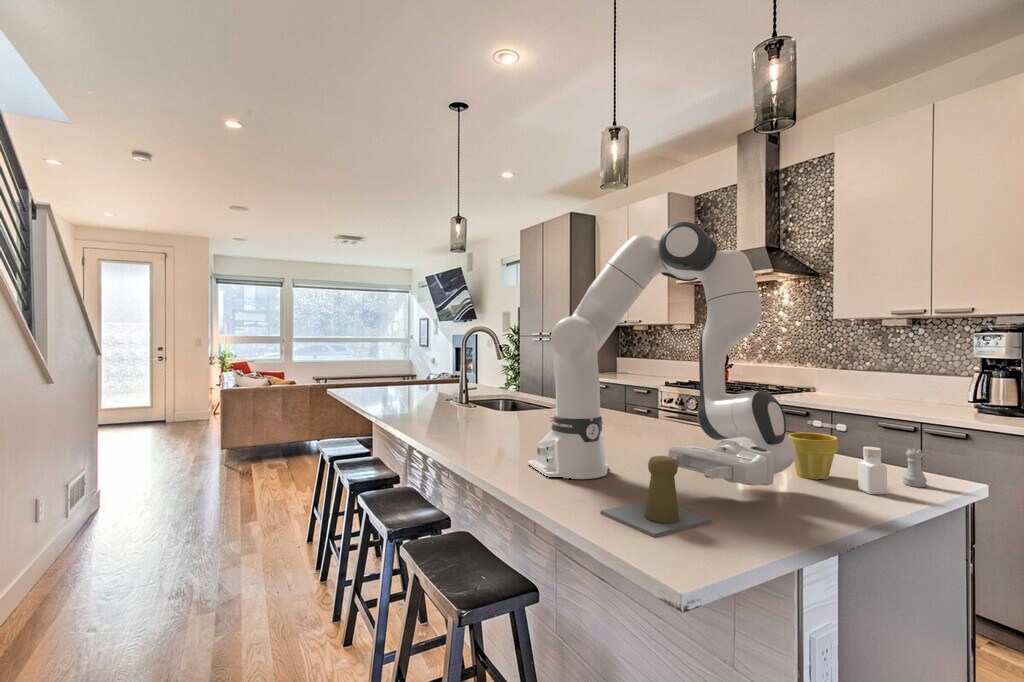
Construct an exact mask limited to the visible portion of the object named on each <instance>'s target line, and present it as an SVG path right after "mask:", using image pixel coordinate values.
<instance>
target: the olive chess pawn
mask: <svg viewBox="0 0 1024 682" xmlns="http://www.w3.org/2000/svg"><path fill="white" fill-rule="evenodd" d="M647 468H648V472H649V473H650V480H649V486H648V493H647V498H646V501H647V505H646V511H645V517H646V518H647V519H649V520H652V521H656V522H662V523H674V522H677V521H679V514H678V508H679V507H678V498H677V497H678V496H677V489H676V480H675V476H676V475H677V474H678V469H679V467H678V465H677V462H676V460H675V459H673V458H671V457H669V456H666V455H655V456H654V455H653V456H652V457H650V458H649V460H648V462H647Z"/></svg>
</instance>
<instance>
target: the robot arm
mask: <svg viewBox="0 0 1024 682" xmlns="http://www.w3.org/2000/svg"><path fill="white" fill-rule="evenodd" d="M659 274H661V275H662V276H664V277H669V278H671V279H672V278H673V279H675V280H677V281H681V282H694V281H696V280H698V281H700V282H701V283H702V285H703V289H704V295H705V302H706V309H707V310H706V311H707V315H706V321H705V322H706V323H705V326H704V328H703V330H702V332H701V333H700V336H699V342H698V343H699V345H698V354H699V355H698V359H699V360H698V363H699V364H698V366H699V398H698V399H699V400H698V408H697V422H698V425H699V426H700V429H702V431H703V432H704V434H706V435H707V436H708V437H709V438H711V439H713V440H715V441H718V442H717V443H716V444H714V447H713V449H712V448H707V447H702V446H697V445H682V446H681V445H680V446H673V447H670V448H669V449H668V457H671V458H673V459H675V460H676V462H677V465H678V468H681V469H685V470H690V471H693V472H697V473H700V474H704V477H705V478H707V479H711V480H713V479H723V480H724V481H726V482H728V483H733V484H736V483H737V484H742V485H746V486H763V485H764V486H770V485H771V486H772V485H773V484H774V477H775V476H774V475H776V474H779V473H781V472H783V471H786V470H787V469H788V468H789V467H791V466H792V464H794V460H795V457H796V449H795V445H794V443H793V441H792V440H791V439H790V437H789V436H788V435H789V434H787V433H786V432H787V431H786V430H787V423H786V421H787V420H786V415H785V412H784V411H785V410H784V408H783V406H782V405H781V403H780V402H779V401H778V400H777V398H776V397H774V396H773V395H772V394H770V393H769V392H767V391H765V390H759V391H748V392H740V393H734V394H727V393H726V368H725V367H726V364H725V363H726V357H727V355H728V353H729V352H730V350H732V348H734V347H735V346H736V345H737V344H738V343H739V342H740V341H742V340H744V339H745V338H747V337H748V336H749V335H751V333H752V332H754V330H755V329H756V328H757V327H758V325H759V323H760V321H761V318H762V314H763V313H762V311H763V310H762V303H761V296H760V292H759V287H758V282H757V279H756V275H755V271H754V270H753V266H752V264H751V262H750V260H749V257H748V256H747V255H746V253H744V252H742V251H741V250H737V249H724V250H718V244H717V243H716V242H715V241H714V240H713V239H712V238H711V237H710V236H709V235H708V234H707V232H706V231H705V230H704V229H703V228H701V227H700V226H699V225H698V224H695V223H693V222H689V221H681V222H677V223H676V222H675V223H674V224H672V225H670V226H669V227H668V228H667V229H666V230H664V232H663V233H662V235H661V237H660V239H655V238H654V237H652V236H650V235H648V234H644V233H643V234H641V233H639V234H634V235H633V236H632V237H630V238H629V239H627V241H626V242H625V243H624V244H623V245H622V246H621V247H620V248H619V249H618V250H617V251H616V252H615V253H614V255H613V256H612V257H611V258H610V259H609V260H608V261H607V263H606V265H605V266H604V267H603V268H602V269H601V271H600V273H599V274H597V276H596V277H595V278H594V280H593V281H592V282H591V284H590V285H589V287H588V288H587V290H586V292H585V294H584V296H583V298H582V299H581V301H580V302H579V304H578V305H577V307H576V309H575V310H574V312H573V313H572V314H571V315H570V316H566V317H563V318H562V319H560V320H559V321H557V323H556V324H555V325H554V326H553V328H552V330H551V334H550V345H551V355H552V365H553V367H552V368H553V375H554V382H555V383H554V384H555V415H554V416H553V417H550V419H552V420H550V423H552V424H551V428H550V429H551V430H550V431H549V432H548V433H547V434H546V435H545V436H544V437H543V438H542V439H541V440H540V441H538V443H537V446H536V458H533V459H529V460H528V461H527V465H528V464H529V465H531V466H532V467H534V468H535V469H536V470H538V471H539V472H538V471H537V472H538V473H540V472H541V473H542V474H541V473H540V474H541V475H543V474H544V475H546V476H548V477H547V478H549V477H563V478H562V479H569V478H571V480H589V479H597V478H601V477H604V476H607V475H608V470H609V469H608V468H609V467H610V466H609V463H607V460H606V449H605V440H604V439H605V438H604V437H603V435H602V433H601V432H602V431H603V418H602V416H601V383H600V374H599V373H600V372H599V362H598V361H599V359H598V352H599V351H600V349H601V348H602V347H603V345H604V344H605V343H606V341H607V340H608V338H609V337H610V336H611V334H612V333H613V332H614V330H615V329H616V328H617V326H618V324H619V323H620V322H621V320H622V319H623V317H624V316H625V315H626V314H627V312H628V311H629V309H630V308H632V306H633V304H635V302H636V301H637V299H638V298H639V297H640V296H641V294H642V293H643V291H644V290H646V288H647V286H648V285H649V284H650V282H651V281H652V280H653V279H654V278H655V277H656V276H658V275H659ZM529 465H528V466H529ZM532 467H531V468H532ZM535 469H534V470H535ZM536 470H535V471H536ZM544 475H543V476H544ZM546 476H545V477H546Z"/></svg>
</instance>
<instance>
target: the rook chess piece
mask: <svg viewBox="0 0 1024 682" xmlns="http://www.w3.org/2000/svg"><path fill="white" fill-rule="evenodd" d="M922 451H923V450H921V449H919V448H918V449H916V448H913V449H912V448H907V451H906V452H905V454H906V456H907V459H906V461H907V469H906V472H905V474H904V475H903V477H902V478H903V480H902V483H903V484H904V485H905V486H907V487H910V488H911V487H912V488H917V489H918V488H921V489H922V488H926V487H928V484H927V482H928V480H927V477H926V476H925V474H924V472H923V467H922V463H923V462H924V461H923V460H922V458H923V457H924V455H925V453H923V452H922Z"/></svg>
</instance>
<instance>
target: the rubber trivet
mask: <svg viewBox="0 0 1024 682" xmlns="http://www.w3.org/2000/svg"><path fill="white" fill-rule="evenodd" d="M646 505H647V500H643V501H637V502H634V503H628V504H624V505H623V504H622V505H621V506H620V505H619V506H614V507H610V508H605V509H600V513H601V515H603V516H605V517H607V516H608V518H609V519H612V520H615V521H617V522H619V523H621V524H622V525H626V526H628V527H631V528H633V529H635V530H636V531H639V532H641V533H643V534H646V535H648V536H650V537H651V538H652V537H653V538H657V537H661V536H664V535H669V534H672V533H675V532H679V531H680V532H681V531H683V530H687V529H691V528H695V527H699V526H703V525H707V524H710V523H712V519H711V518H709V517H707V516H703V515H700V514H697V513H695V512H692V511H689V510H687V509H684V508H681V507H678V514H679V521H677V522H674V523H662V522H656V521H652V520H649V519H647V518H646V517H645V511H646Z"/></svg>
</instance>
